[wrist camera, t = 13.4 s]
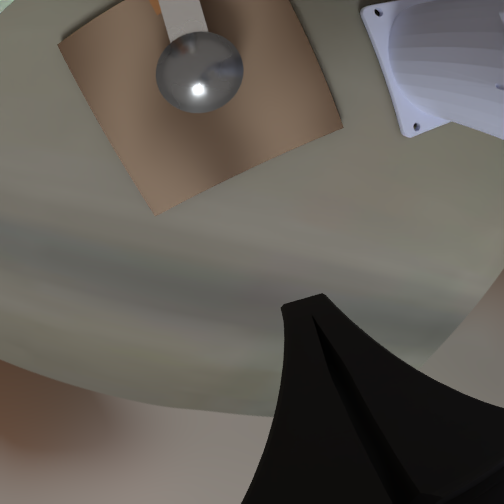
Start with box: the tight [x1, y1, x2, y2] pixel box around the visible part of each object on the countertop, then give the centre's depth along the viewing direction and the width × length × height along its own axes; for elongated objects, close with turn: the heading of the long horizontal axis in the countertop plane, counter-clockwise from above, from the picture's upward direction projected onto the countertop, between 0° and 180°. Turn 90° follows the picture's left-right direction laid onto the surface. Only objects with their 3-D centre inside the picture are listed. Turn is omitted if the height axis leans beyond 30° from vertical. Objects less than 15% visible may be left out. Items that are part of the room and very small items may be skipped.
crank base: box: [58, 0, 344, 216], centre depth 13 cm, size 11×11×1 cm
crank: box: [156, 0, 244, 113], centre depth 10 cm, size 9×4×4 cm, turn 14°
